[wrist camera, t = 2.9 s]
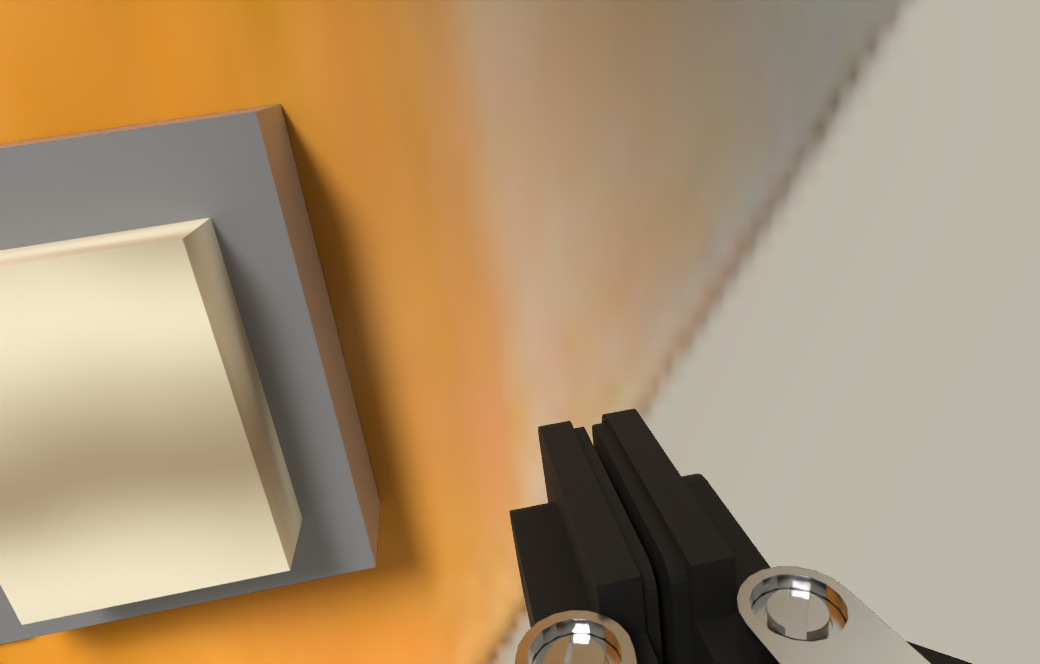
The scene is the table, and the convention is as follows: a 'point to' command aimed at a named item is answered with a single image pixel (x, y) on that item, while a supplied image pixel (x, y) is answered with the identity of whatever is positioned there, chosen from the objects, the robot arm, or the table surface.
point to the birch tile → (132, 426)
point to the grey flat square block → (258, 292)
